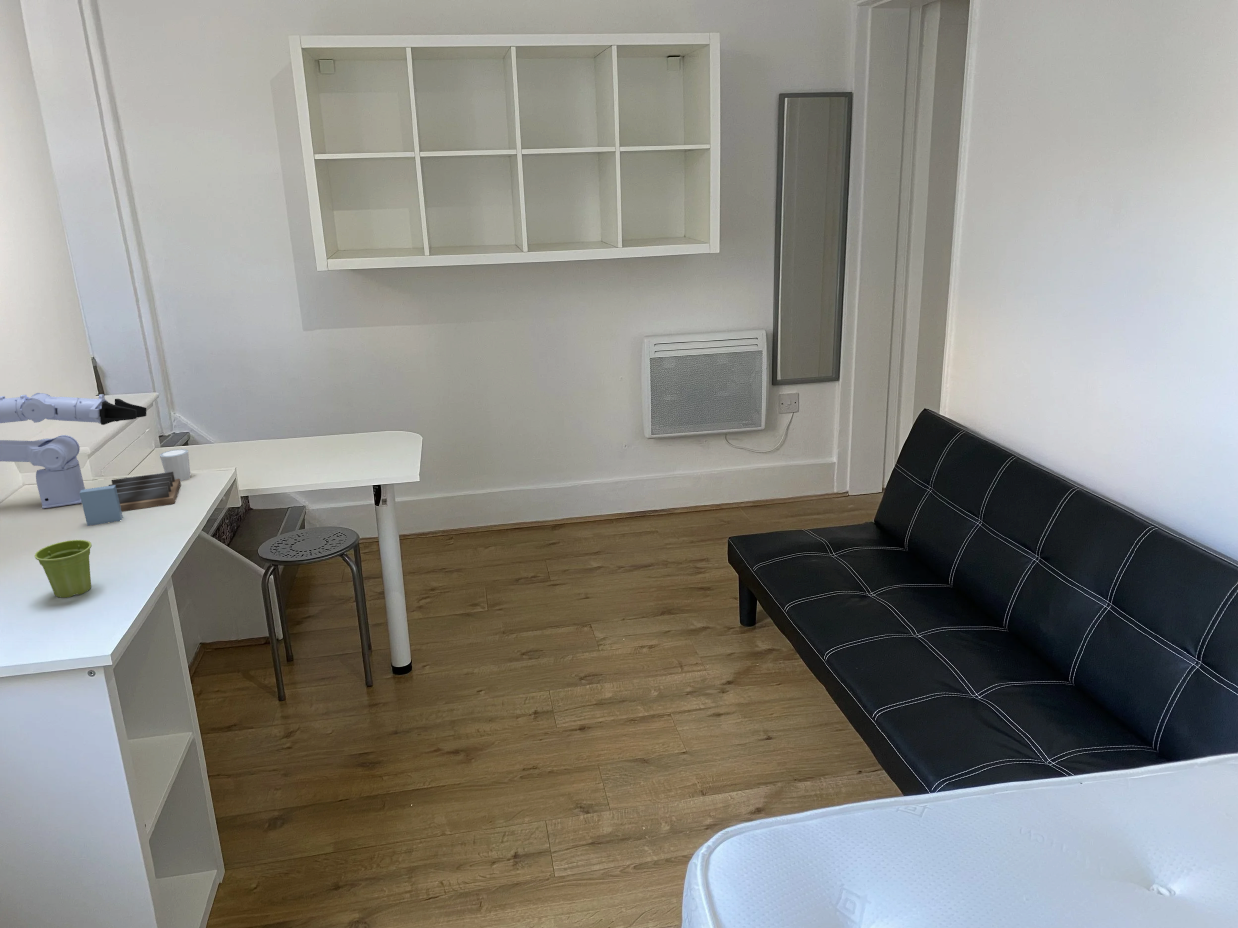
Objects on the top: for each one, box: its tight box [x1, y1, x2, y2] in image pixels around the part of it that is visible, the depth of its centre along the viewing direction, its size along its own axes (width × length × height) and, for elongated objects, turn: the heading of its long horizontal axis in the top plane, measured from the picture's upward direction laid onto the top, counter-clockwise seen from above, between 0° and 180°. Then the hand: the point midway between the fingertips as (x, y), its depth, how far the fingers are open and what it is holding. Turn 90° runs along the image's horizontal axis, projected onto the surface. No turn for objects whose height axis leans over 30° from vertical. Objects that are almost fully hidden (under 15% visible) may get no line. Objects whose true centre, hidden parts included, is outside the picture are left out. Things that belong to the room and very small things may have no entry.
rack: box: [107, 472, 182, 512], centre depth 229 cm, size 16×16×4 cm
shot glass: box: [159, 448, 192, 482], centre depth 243 cm, size 7×7×7 cm
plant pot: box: [34, 539, 93, 598], centre depth 177 cm, size 9×9×9 cm
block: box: [80, 485, 124, 527], centre depth 214 cm, size 7×2×8 cm, turn 109°
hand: (141, 413), depth 228 cm, fingers open, 7 cm apart
